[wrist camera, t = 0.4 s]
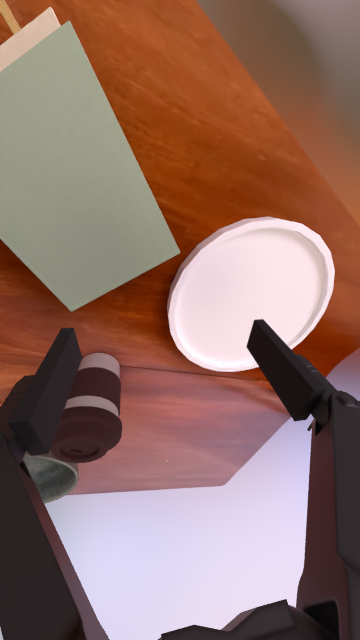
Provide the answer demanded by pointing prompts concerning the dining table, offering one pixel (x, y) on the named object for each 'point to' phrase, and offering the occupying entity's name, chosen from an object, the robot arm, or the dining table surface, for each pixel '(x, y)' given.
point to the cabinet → (72, 178)
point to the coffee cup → (90, 412)
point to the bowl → (51, 475)
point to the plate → (248, 290)
